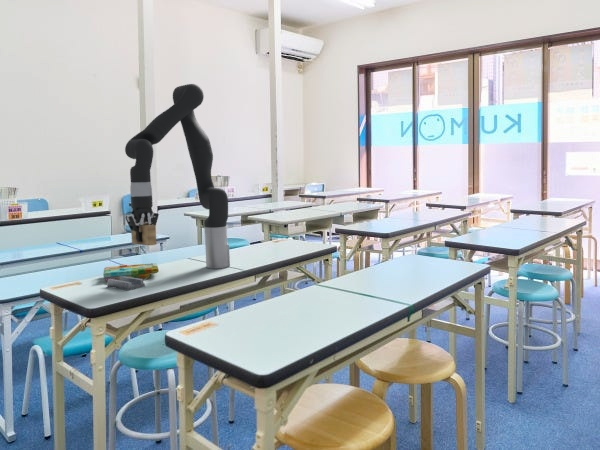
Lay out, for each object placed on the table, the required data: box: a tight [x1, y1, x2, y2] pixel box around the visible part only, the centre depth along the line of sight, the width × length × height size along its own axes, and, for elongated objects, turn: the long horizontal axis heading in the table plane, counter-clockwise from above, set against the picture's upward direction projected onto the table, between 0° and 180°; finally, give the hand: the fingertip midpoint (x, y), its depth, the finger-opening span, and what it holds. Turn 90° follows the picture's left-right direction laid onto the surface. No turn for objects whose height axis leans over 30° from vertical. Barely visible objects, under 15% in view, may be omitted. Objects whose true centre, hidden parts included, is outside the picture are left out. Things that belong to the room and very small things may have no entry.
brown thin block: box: [130, 224, 157, 246], centre depth 188 cm, size 10×3×7 cm, turn 56°
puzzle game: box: [102, 262, 160, 283], centre depth 200 cm, size 12×5×20 cm
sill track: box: [106, 276, 145, 292], centre depth 186 cm, size 12×7×3 cm, turn 56°
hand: (143, 241), depth 188 cm, fingers closed on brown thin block, 3 cm apart
